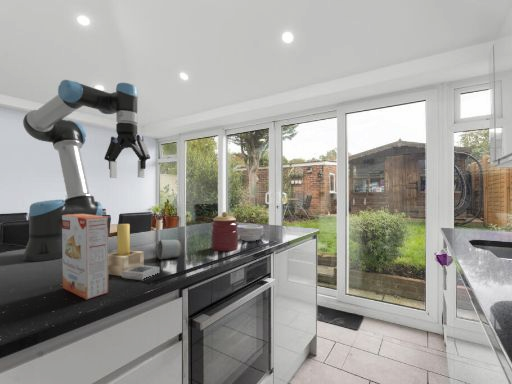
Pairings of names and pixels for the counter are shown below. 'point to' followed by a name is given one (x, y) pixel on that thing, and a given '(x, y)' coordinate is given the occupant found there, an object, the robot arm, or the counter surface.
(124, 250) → the ochre pin
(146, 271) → the grey mount plate
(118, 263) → the beech socket block
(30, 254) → the robot arm
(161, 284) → the counter surface
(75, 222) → the cracker box
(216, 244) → the canister
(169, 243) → the ceramic mug
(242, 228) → the paper bowls
